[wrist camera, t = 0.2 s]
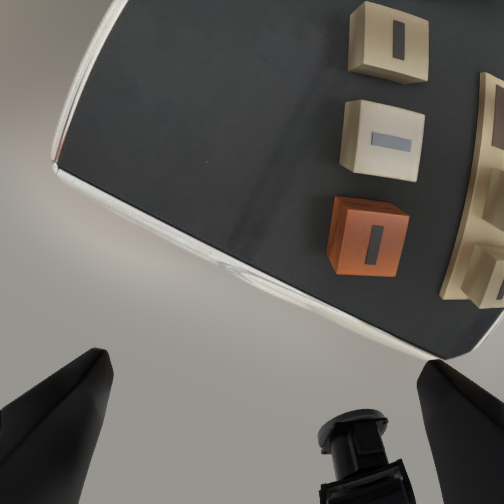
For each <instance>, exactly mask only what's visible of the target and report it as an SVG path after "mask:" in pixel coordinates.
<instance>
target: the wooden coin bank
mask: <svg viewBox="0 0 504 504" xmlns="http://www.w3.org/2000/svg"><path fill="white" fill-rule="evenodd" d="M409 218H410V216H409V215H407V214H406V213H405V212H403V211H402V210H400V209H399V208H398V207H396V206H395V205H393V204H392V203H390V202H383V201H375V200H367V199H358V198H350V197H340V196H335V199H334V206H333V213H332V220H331V226H330V233H329V239H328V245H327V251H326V254H327V256H328V258H329V260H330V262H331V264H332V266H333V268H334V270H335V272H336V274H344V275H366V276H390V277H395V275H396V272H397V268H398V264H399V260H400V256H401V252H402V248H403V244H404V240H405V236H406V232H407V227H408V223H409Z"/></svg>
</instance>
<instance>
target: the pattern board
mask: <svg viewBox="0 0 504 504" xmlns="http://www.w3.org/2000/svg"><path fill="white" fill-rule="evenodd" d="M492 168H495V169H498V170H501V171H504V81H502V80H500V79H498V78H496V77H494V76H493V75H491V74H489V73H487V72H482V73H480V89H479V108H478V120H477V131H476V140H475V148H474V155H473V162H472V168H471V174H470V180H469V185H468V190H467V195H466V200H465V205H464V209H463V214H462V218H461V222H460V226H459V230H458V234H457V238H456V242H455V245H454V249H453V252H452V256H451V259H450V262H449V266H448V269H447V272H446V275H445V278H444V281H443V284H442V287H441V290H440V293H439V296H440V297H441V298H442V299H443V300H451V299H469V298H468V296H467V295H466V294H465V293H464V292H463V291H462V290H461V286H462V283H463V280H464V277H465V274H466V271H467V268H468V265H469V262H470V259H471V256H472V252H473V249H474V245H475V244H482V245H490V246H499V247H504V232H503V231H501V230H500V229H498V228H496V227H495V226H493V225H491V224H490V223H488V222H486V221H485V220H483V219H482V215H483V211H484V207H485V202H486V198H487V193H488V188H489V183H490V177H491V171H492Z"/></svg>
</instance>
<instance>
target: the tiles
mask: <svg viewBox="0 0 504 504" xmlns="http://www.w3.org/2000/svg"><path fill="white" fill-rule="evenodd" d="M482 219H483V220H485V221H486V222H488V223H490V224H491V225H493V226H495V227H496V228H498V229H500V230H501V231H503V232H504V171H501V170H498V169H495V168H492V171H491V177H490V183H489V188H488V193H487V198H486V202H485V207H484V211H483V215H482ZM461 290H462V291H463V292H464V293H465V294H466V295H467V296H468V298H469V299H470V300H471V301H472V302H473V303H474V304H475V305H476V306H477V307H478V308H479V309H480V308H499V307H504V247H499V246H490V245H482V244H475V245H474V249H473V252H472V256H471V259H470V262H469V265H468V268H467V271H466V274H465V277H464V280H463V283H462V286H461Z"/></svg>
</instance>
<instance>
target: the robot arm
mask: <svg viewBox="0 0 504 504" xmlns="http://www.w3.org/2000/svg"><path fill="white" fill-rule="evenodd" d="M113 376H114V373H113V368H112V365H111V361H110V357H109V354H108V352H107V350H105V349H99V348H91V349H90V350H89V351H87V352H85V353H84V354H82V355H81V356H79V357H78V358H76V359H75V360H73V361H72V362H70V363H69V364H67V365H66V366H64V367H63V368H61V369H60V370H58V371H57V372H55V373H54V374H52V375H51V376H49V377H48V378H46V379H45V380H43V381H42V382H40V383H39V384H37V385H36V386H34V387H33V388H31V389H30V390H28V391H27V392H25V393H24V394H23V395H21V396H20V397H18V398H17V399H15V400H14V401H12V402H11V403H9V404H8V405H6V406H5V407H3V408H2V410H0V504H78V503H79V499H80V495H81V492H82V489H83V485H84V482H85V478H86V475H87V472H88V468H89V465H90V462H91V458H92V455H93V452H94V449H95V446H96V443H97V440H98V437H99V434H100V431H101V428H102V425H103V421H104V417H105V412H106V407H107V403H108V398H109V394H110V390H111V386H112V382H113ZM417 390H418V395H419V400H420V405H421V410H422V414H423V420H424V425H425V430H426V434H427V437H428V441H429V444H430V447H431V451H432V455H433V459H434V463H435V467H436V471H437V475H438V479H439V483H440V488H441V492H442V497H443V501H444V504H504V403H503V402H502V401H500V400H499V399H497V398H496V397H494V396H493V395H492V394H490V393H489V392H487V391H486V390H484V389H483V388H481V387H480V386H479V385H477V384H476V383H474V382H473V381H471V380H470V379H468V378H467V377H465V376H464V375H462V374H461V373H459V372H458V371H457V370H455V369H454V368H452V367H451V366H449V365H448V364H446V363H445V362H443V361H442V360H440V359H435V360H429V361H428V362H427V363H426V364H425V366H424V368H423V370H422V372H421V374H420V376H419V378H418V380H417ZM387 423H388V419H387V418H377V419H368V420H358V421H347V422H336V423H334V424H333V425H332V427H331V429H330V432H329V434H328V436H327V438H326V440H325V442H324V445H323V447H322V449H321V454H331V455H332V460H333V465H334V471H335V476H336V481H335V482H331V483H328V484H326V483H325V484H321V490H319V497H320V504H416V500H415V496H414V493H413V490H412V486H411V483H410V480H409V478H408V475H407V472H406V470H405V467H404V464H403V461H402V459H399V460H397V461H395V462H393V463H390V464H389V462H388V459H387V456H386V452H385V448H384V445H383V441H382V438H381V435H380V434H381V433H382V431H383V430H384V428H385V427H386V425H387Z"/></svg>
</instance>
